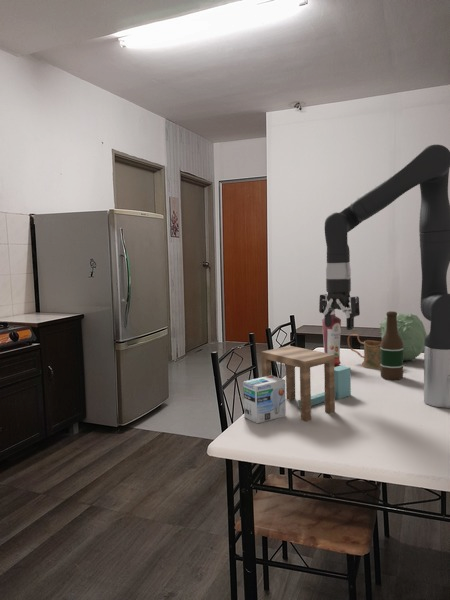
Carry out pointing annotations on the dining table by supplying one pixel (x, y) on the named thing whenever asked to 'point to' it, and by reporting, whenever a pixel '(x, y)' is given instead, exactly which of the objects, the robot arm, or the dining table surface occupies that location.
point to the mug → (369, 353)
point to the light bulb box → (264, 399)
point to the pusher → (336, 385)
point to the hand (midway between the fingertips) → (338, 328)
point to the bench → (303, 374)
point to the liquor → (332, 338)
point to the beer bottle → (391, 350)
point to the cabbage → (409, 334)
